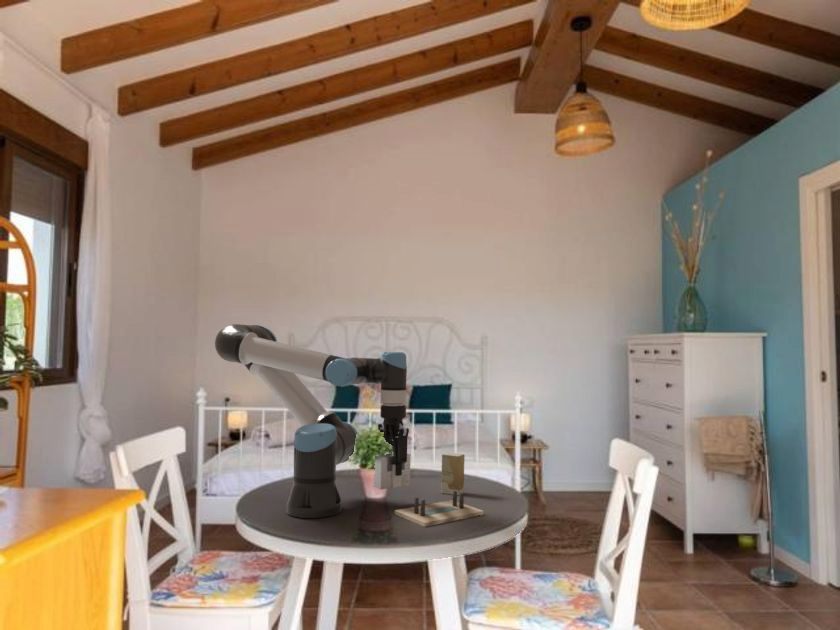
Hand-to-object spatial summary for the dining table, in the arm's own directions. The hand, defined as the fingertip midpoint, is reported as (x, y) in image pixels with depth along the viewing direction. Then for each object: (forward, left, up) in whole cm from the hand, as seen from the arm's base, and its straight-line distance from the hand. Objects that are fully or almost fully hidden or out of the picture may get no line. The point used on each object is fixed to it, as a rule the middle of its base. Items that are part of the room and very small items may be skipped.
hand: (392, 484), depth 173 cm
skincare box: (+23, +1, -6) cm, 24 cm away
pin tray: (+5, -16, -6) cm, 18 cm away
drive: (0, 0, 0) cm, 0 cm away
